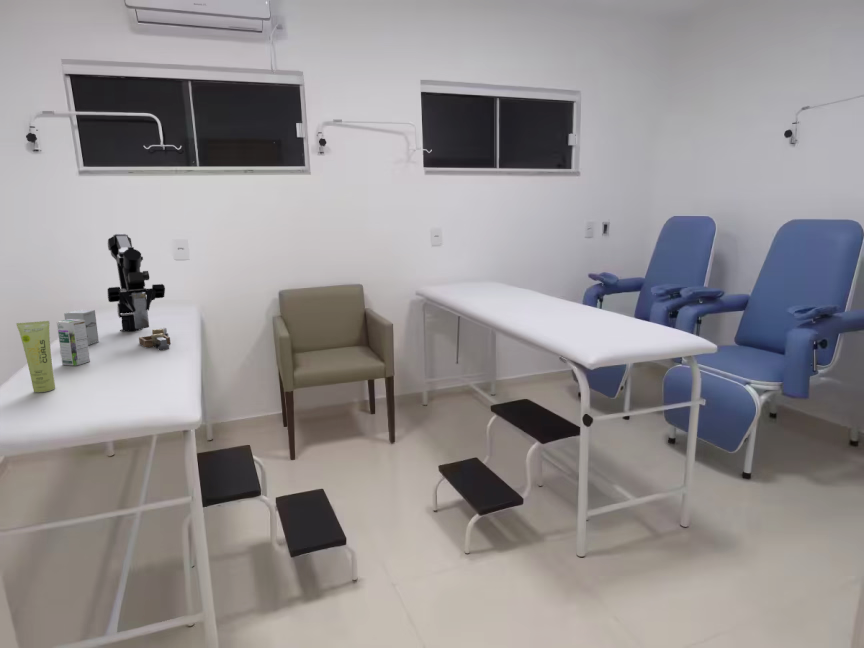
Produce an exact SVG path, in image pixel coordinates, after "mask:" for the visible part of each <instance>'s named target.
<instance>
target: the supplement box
mask: <svg viewBox="0 0 864 648" xmlns="http://www.w3.org/2000/svg"><path fill="white" fill-rule="evenodd" d="M63 315H64V320H67V319H75V320H85V326H86V334H87V342H88V346H90V345H93V344H95V343H98V342H100V341H99V332H98V324H97V318H96V310H95V309H77V310H76V309H75V310H73V311H68V312H65V313H64V314H63Z"/></svg>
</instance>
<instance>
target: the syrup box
mask: <svg viewBox="0 0 864 648" xmlns="http://www.w3.org/2000/svg"><path fill="white" fill-rule="evenodd" d="M56 328H57V329H56V330H57V334H58V342H59V349H60V358H61V364H62V366H74V367H77V366H80V365H83V364H86V363H90V361H91V360H90V359H91V358H90V352H89V345H88V342H87V334H86V326H85V320H75V319H67V320H65V319H63V320H59V321H56Z"/></svg>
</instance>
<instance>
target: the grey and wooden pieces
mask: <svg viewBox="0 0 864 648" xmlns="http://www.w3.org/2000/svg"><path fill="white" fill-rule="evenodd" d="M151 331H152V334H151V335H150V336H151V337H152V346H154V348H155V347H156V348H155V349H157V350H158V349H159V350H158V351H163V349H164V350H169V349H170V346H169V345H170V344H167V339H165V338H164V335H166V336H168V337H169V333H168V332H167V327H160V328H158V329H156V328H154V329H152V330H151ZM163 334H164V335H163Z"/></svg>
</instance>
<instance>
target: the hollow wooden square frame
mask: <svg viewBox="0 0 864 648" xmlns="http://www.w3.org/2000/svg"><path fill="white" fill-rule="evenodd" d="M163 335H164V334H163ZM164 338H165V339H167V344H168V345H171V337H170V336H169V335H168V336H166V335H164ZM138 341H139V344H140V345H141V346H142V345H143V346H142V347H144V348H145V347H148V348H154V347H153V346H152V337H151V335H147V336H141V337H140V336H139V337H138Z"/></svg>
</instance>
